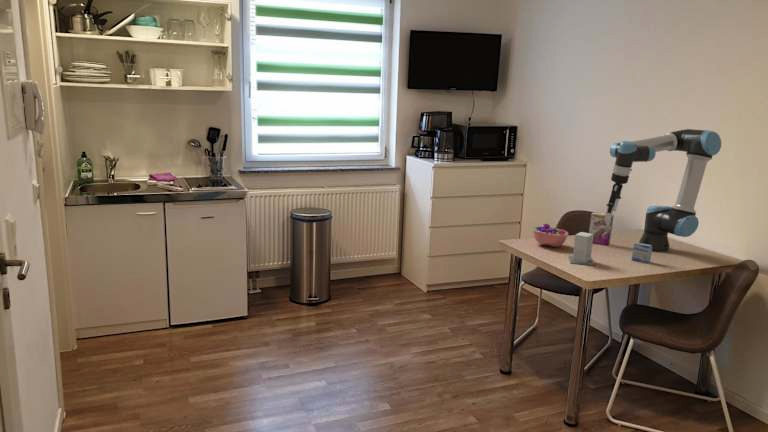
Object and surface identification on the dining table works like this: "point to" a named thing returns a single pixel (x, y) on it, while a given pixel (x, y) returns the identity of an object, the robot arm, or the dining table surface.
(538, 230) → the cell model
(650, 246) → the medicine box
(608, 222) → the candy bar box
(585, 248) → the small box
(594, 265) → the slate coaster
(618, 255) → the dining table surface
